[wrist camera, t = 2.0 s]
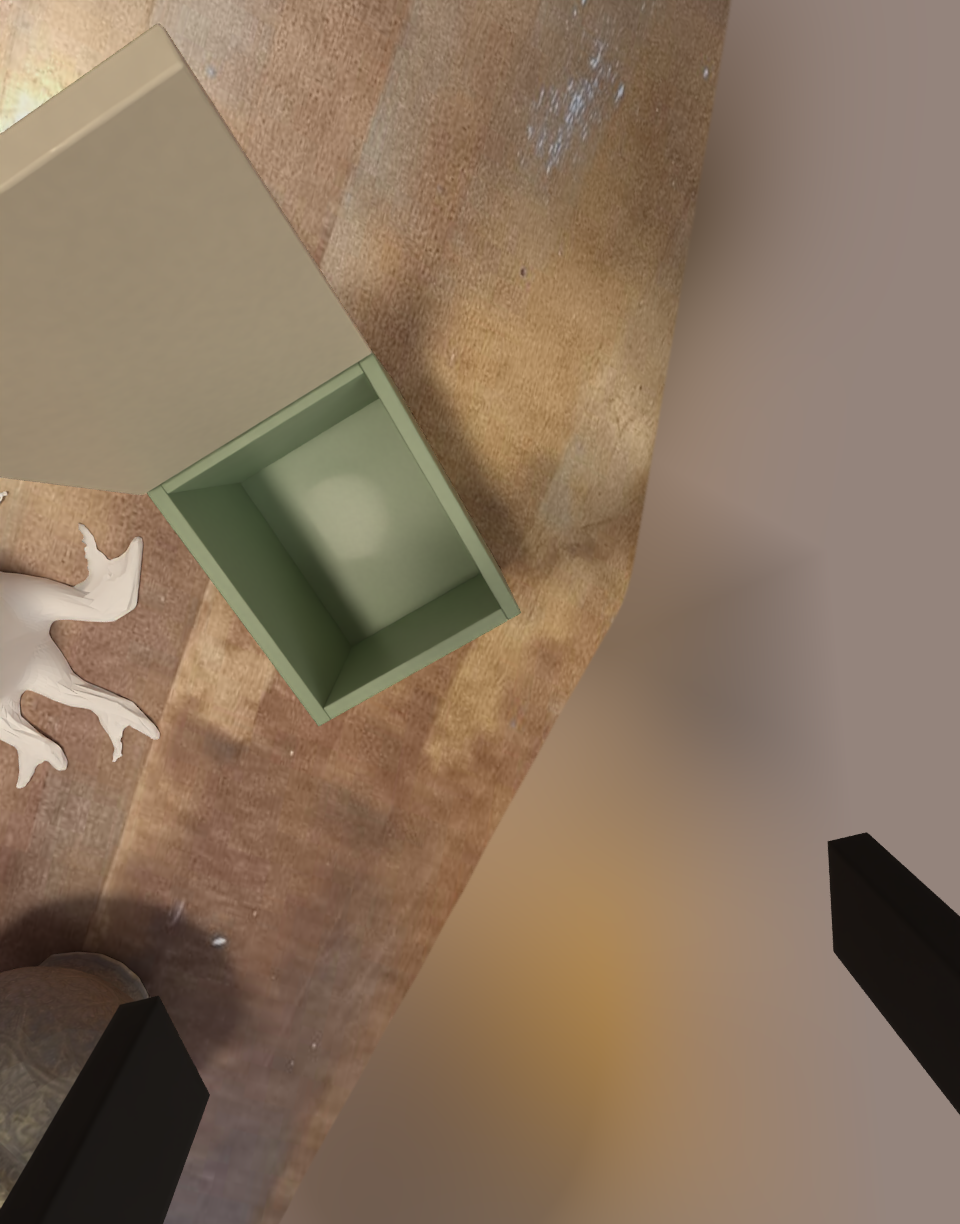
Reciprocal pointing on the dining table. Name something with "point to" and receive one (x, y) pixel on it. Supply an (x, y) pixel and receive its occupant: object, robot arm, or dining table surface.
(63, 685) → the white tree stump
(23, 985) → the pot
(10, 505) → the dining table surface
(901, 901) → the robot arm
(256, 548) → the box
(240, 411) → the lid
